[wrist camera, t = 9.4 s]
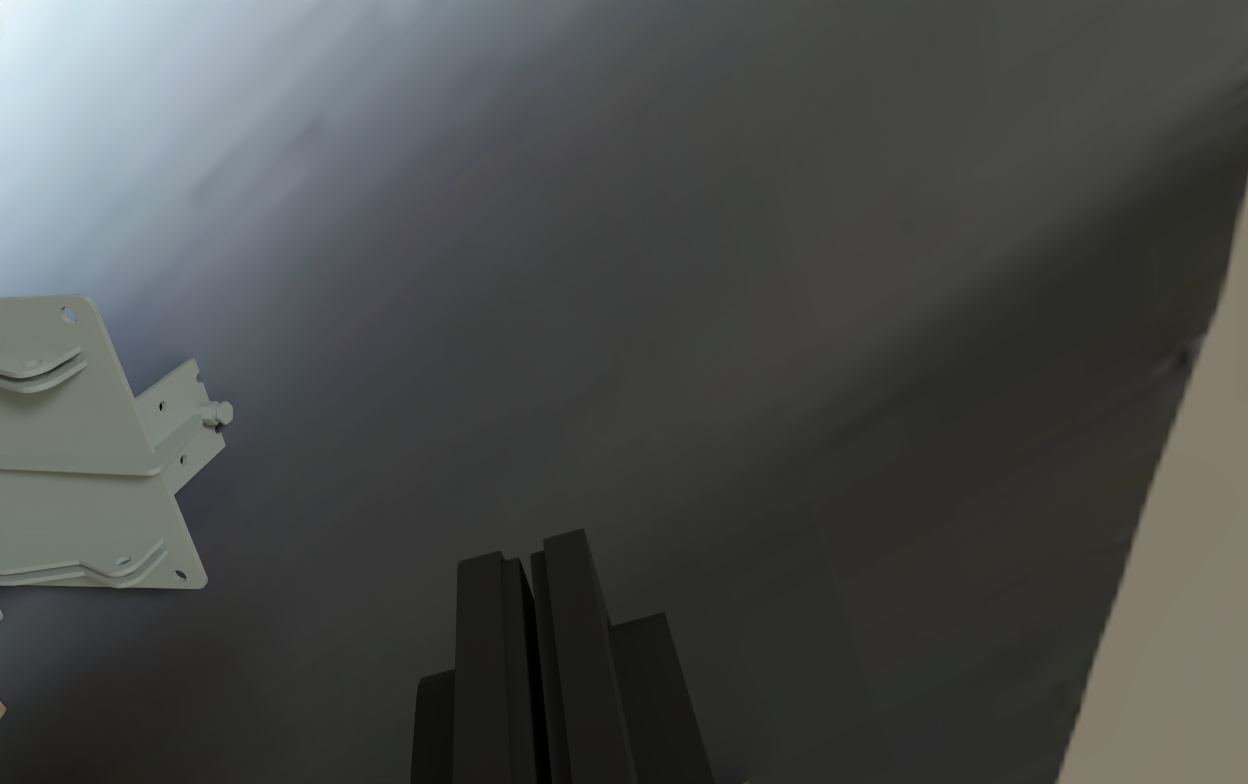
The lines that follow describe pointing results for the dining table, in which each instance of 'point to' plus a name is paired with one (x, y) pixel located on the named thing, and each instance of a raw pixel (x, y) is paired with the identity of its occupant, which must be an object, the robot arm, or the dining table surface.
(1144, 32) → the dining table surface
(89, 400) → the metal bracket
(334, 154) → the dining table surface
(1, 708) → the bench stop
